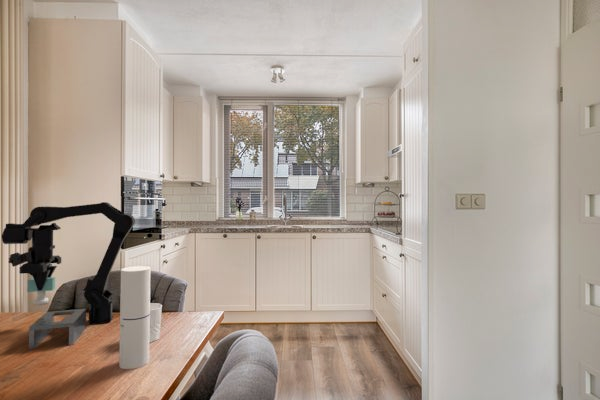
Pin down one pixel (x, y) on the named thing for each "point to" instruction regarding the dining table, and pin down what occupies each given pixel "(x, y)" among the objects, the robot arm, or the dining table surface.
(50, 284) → the peg
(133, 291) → the cylindrical container
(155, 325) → the white cup
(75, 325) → the grey square frame stand
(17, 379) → the dining table surface
